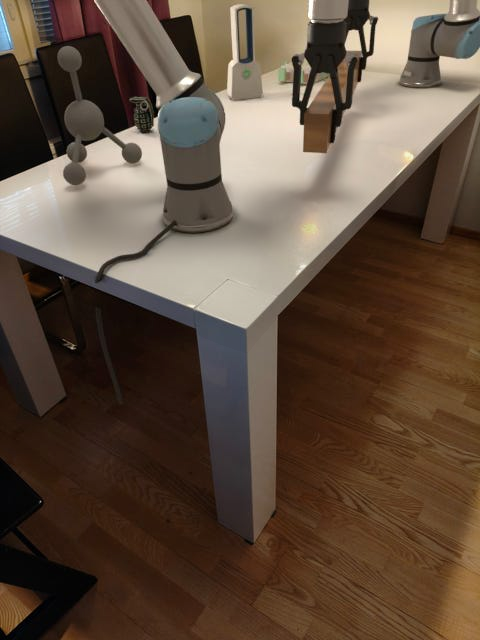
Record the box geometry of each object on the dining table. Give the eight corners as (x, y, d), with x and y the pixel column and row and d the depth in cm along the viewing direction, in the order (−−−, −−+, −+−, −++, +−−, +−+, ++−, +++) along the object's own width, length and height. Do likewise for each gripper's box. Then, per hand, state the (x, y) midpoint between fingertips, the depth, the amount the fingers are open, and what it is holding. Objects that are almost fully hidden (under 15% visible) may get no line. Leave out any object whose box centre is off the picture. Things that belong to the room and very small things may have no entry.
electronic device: (231, 100, 184) (226, 7, 166) (227, 96, 190) (221, 5, 172) (263, 96, 187) (261, 4, 168) (257, 92, 192) (255, 2, 174)
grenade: (132, 133, 158) (127, 100, 152) (139, 128, 162) (134, 95, 156) (151, 133, 157) (146, 100, 150) (158, 128, 161) (153, 96, 155)
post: (326, 153, 104) (329, 114, 100) (302, 152, 106) (304, 113, 101) (359, 78, 157) (362, 50, 152) (343, 78, 158) (346, 50, 153)
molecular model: (153, 175, 128) (132, 46, 109) (67, 191, 122) (30, 58, 104) (135, 149, 145) (114, 34, 127) (59, 162, 140) (26, 43, 121)
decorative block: (301, 54, 217) (341, 57, 207) (300, 70, 221) (340, 74, 211) (269, 65, 201) (312, 69, 191) (269, 82, 205) (311, 87, 195)
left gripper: (376, 17, 96) (362, 137, 110) (285, 17, 100) (283, 133, 114) (373, 22, 90) (359, 148, 104) (277, 22, 95) (275, 143, 109)
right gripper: (390, -11, 139) (380, 78, 153) (326, -8, 144) (322, 78, 158) (389, -8, 133) (379, 84, 148) (322, -5, 138) (319, 83, 152)
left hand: (319, 140), depth 109 cm, fingers closed on post, 5 cm apart
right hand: (349, 80), depth 153 cm, fingers closed on post, 5 cm apart
